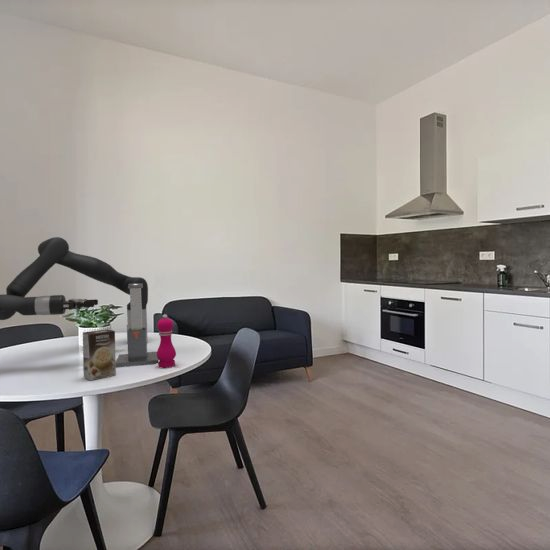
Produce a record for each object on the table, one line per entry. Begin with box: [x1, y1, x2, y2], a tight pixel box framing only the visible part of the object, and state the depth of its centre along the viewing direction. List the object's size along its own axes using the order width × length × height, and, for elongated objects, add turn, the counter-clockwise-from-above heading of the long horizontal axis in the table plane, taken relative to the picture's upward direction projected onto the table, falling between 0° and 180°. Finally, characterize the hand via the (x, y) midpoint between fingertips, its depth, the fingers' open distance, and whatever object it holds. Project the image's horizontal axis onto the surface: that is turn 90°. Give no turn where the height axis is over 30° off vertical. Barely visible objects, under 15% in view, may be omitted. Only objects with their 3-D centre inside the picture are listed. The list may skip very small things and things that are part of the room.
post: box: [128, 284, 143, 331], centre depth 161 cm, size 6×6×24 cm
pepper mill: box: [156, 314, 177, 369], centre depth 152 cm, size 7×7×20 cm
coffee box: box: [82, 329, 117, 381], centre depth 140 cm, size 9×6×16 cm
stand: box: [116, 327, 159, 368], centre depth 162 cm, size 16×16×13 cm
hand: (96, 303), depth 157 cm, fingers open, 8 cm apart
